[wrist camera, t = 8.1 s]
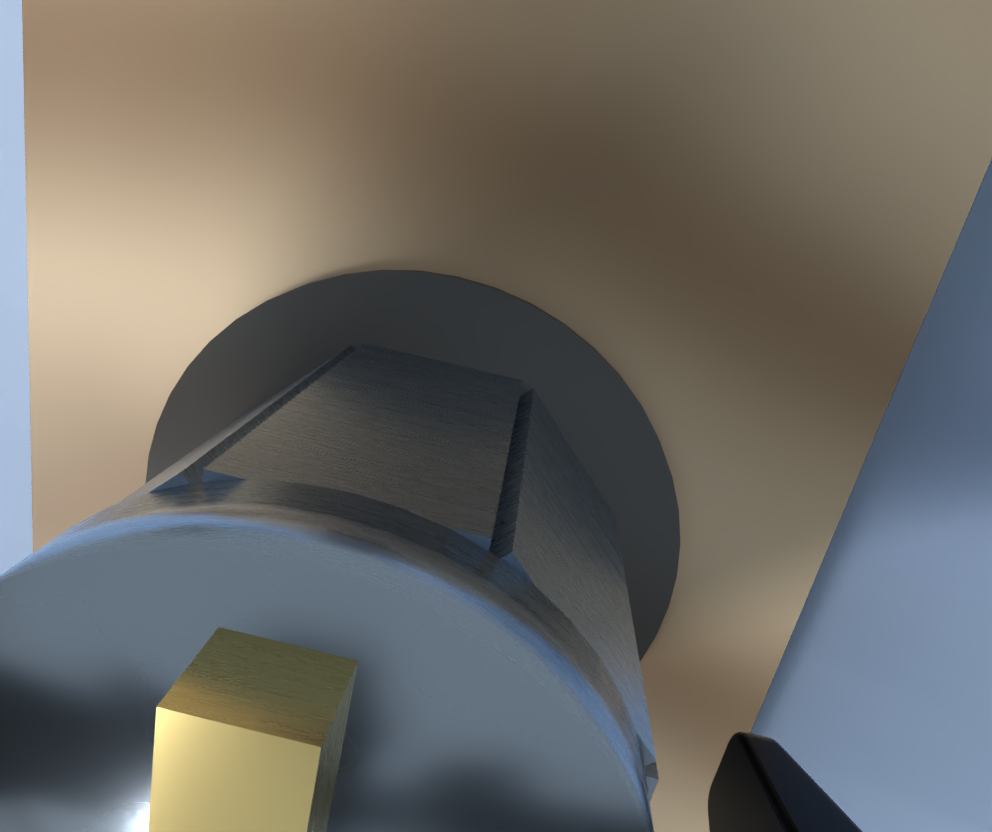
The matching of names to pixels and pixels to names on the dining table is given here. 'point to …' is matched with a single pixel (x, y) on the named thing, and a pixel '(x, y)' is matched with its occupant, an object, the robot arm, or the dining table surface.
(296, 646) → the cap
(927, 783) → the dining table surface
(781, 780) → the robot arm
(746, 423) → the board
